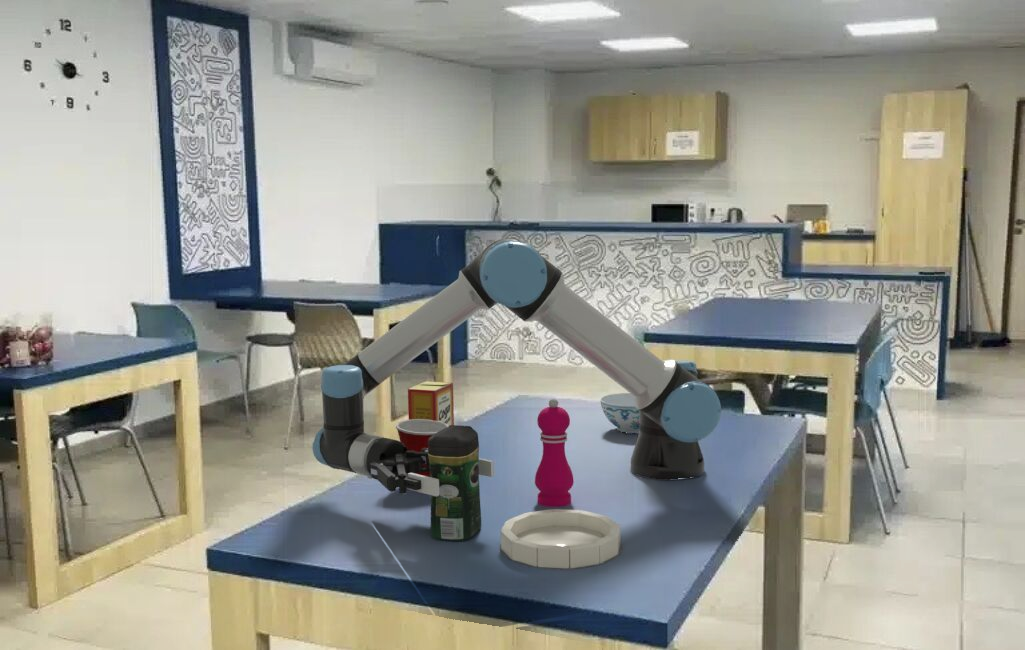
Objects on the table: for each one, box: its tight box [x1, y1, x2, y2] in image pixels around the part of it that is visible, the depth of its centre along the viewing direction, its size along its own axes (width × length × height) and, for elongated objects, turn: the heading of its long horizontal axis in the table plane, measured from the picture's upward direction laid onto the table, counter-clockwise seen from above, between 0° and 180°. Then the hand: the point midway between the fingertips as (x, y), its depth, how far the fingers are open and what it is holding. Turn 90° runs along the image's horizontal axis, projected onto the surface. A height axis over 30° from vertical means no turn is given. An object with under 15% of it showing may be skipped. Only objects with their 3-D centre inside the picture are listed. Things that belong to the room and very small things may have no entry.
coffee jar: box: [428, 424, 482, 543], centre depth 166 cm, size 10×8×19 cm
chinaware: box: [599, 392, 639, 434], centre depth 238 cm, size 15×15×8 cm
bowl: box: [500, 508, 621, 570], centre depth 160 cm, size 19×19×3 cm
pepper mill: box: [534, 398, 575, 508], centre depth 182 cm, size 7×7×20 cm
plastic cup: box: [395, 419, 449, 477], centre depth 198 cm, size 11×11×12 cm
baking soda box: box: [407, 380, 455, 426], centre depth 218 cm, size 10×6×16 cm
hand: (466, 478), depth 164 cm, fingers open, 13 cm apart
